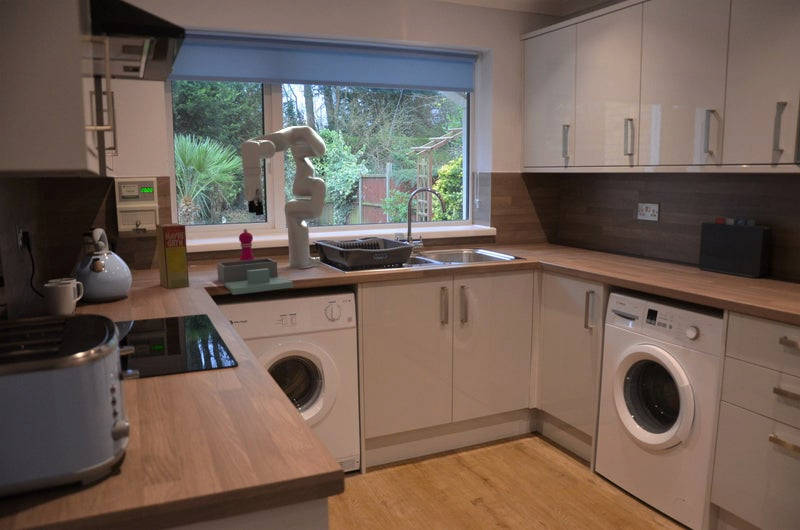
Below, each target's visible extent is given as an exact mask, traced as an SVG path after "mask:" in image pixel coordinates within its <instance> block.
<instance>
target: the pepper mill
mask: <svg viewBox="0 0 800 530" xmlns="http://www.w3.org/2000/svg"><path fill="white" fill-rule="evenodd" d="M253 239H254V238H253V235H252V233H251V232H249V231H248V229H247V228H244V229H243V232H241V233H240V234H239V236H238V241H239V242H240V248H241V255H240V258H239V261H243V260H254V259H255V256H254V254H253V252H252V247H253V243H252V241H253Z"/></svg>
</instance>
